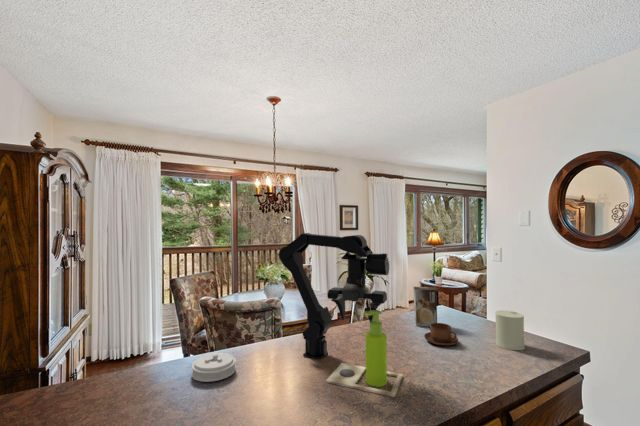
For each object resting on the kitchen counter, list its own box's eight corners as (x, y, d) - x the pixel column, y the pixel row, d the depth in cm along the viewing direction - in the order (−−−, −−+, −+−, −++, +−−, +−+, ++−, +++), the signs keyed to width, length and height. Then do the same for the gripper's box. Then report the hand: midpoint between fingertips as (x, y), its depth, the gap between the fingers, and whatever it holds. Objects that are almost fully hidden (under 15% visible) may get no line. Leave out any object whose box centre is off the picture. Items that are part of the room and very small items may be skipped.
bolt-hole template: (326, 382, 91) (326, 379, 91) (341, 364, 102) (341, 361, 102) (394, 397, 83) (394, 393, 83) (402, 376, 94) (402, 373, 94)
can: (529, 346, 116) (528, 313, 117) (517, 352, 111) (516, 317, 111) (503, 339, 124) (502, 307, 124) (490, 344, 119) (490, 311, 119)
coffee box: (434, 322, 144) (434, 286, 145) (437, 327, 138) (437, 289, 139) (413, 321, 146) (413, 286, 146) (415, 326, 140) (415, 289, 140)
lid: (181, 380, 93) (181, 362, 93) (211, 362, 104) (211, 347, 105) (216, 388, 88) (217, 370, 88) (244, 369, 100) (244, 352, 100)
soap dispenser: (358, 380, 92) (358, 310, 92) (377, 374, 95) (377, 307, 96) (372, 389, 87) (371, 315, 87) (391, 383, 90) (390, 311, 91)
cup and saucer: (460, 340, 123) (460, 324, 123) (455, 351, 113) (454, 333, 113) (428, 334, 130) (428, 319, 130) (420, 344, 119) (420, 327, 120)
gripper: (320, 275, 101) (320, 325, 101) (378, 279, 94) (379, 333, 93) (333, 270, 111) (333, 315, 111) (387, 273, 104) (387, 322, 103)
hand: (357, 321), depth 104 cm, fingers open, 9 cm apart
